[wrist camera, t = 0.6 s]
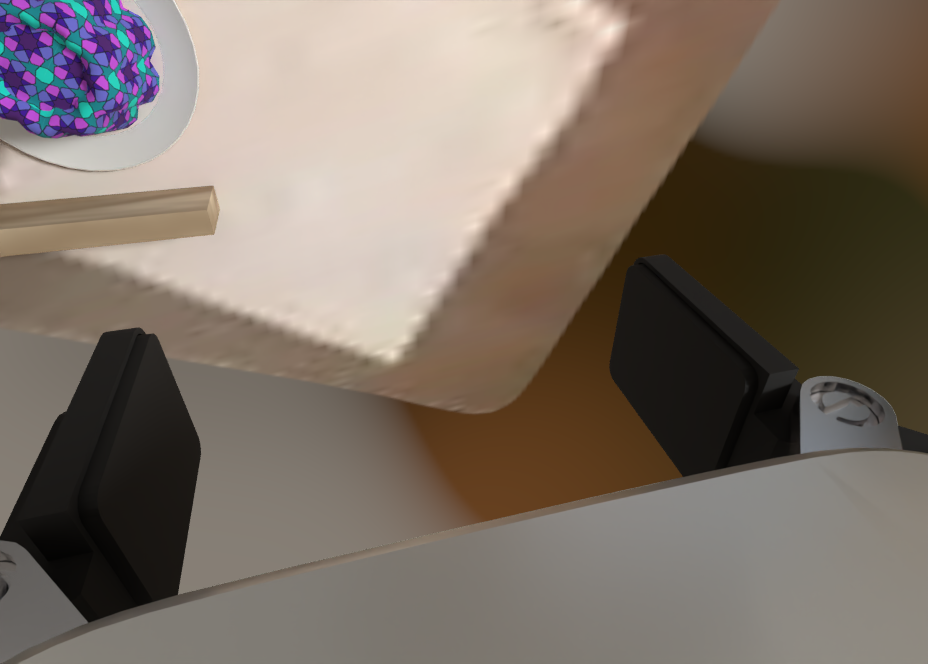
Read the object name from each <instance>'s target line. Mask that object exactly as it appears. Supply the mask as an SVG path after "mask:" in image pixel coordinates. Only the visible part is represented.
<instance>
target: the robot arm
mask: <svg viewBox="0 0 928 664" xmlns="http://www.w3.org/2000/svg"><path fill="white" fill-rule="evenodd" d="M798 370H799V368H798V367H796V366H795V365H794V364H793V363H792V362H791V361H789V360H788V359H787V358H786V357H785V356H784V355H783V354H781V353H780V352H779V351H778V350H777V349H776V348H774V347H773V346H772V345H771V344H770V343H768V342H767V341H766V340H765V339H764V338H763V337H762V336H760V335H759V334H758V333H757V332H755V330H753V329H752V328H751V327H750V326H748V324H746V323H745V322H744V321H743V320H742V319H741V318H739V317H738V316H737V315H736V314H735V313H734V312H732V311H731V310H730V309H729V308H728V307H727V306H725V305H724V304H723V303H722V302H721V301H720V300H719V299H717V298H716V297H715V296H714V295H713V294H711V293H710V292H709V291H708V290H707V289H706V288H705V287H703V286H702V285H701V284H700V283H699V282H697V281H696V280H695V279H694V278H693V277H692V276H690V275H689V274H688V273H687V272H686V271H685V270H684V269H682V268H681V267H680V266H679V265H678V264H677V263H675V262H674V261H673V260H672V259H671V258H670V257H668V256H667V255H656V256H649V257H641V258H638V259H637V260H636V261H635V262H634V265H633V266H630V267H629V268H628V270H627V273H626V278H625V283H624V289H623V294H622V300H621V305H620V310H619V316H618V321H617V326H616V332H615V337H614V343H613V348H612V354H611V359H610V373H611V376H612V378H613V380H614V382H615V383H616V384H617V386H618V387H619V389H620V390H621V391H622V393H623V394H624V395H625V397H626V398H627V400H628V401H629V402H630V404H631V405H632V407H633V408H634V409H635V411H636V412H637V413H638V415H639V416H640V418H641V419H642V420H643V422H644V423H645V425H646V426H647V427H648V429H649V430H650V431H651V433H652V434H653V436H655V438H656V440H657V441H658V442H659V444H660V445H661V447H662V448H663V449H664V451H665V452H666V454H667V455H668V456H669V458H670V459H671V460H672V462H673V463H674V465H675V466H676V467H677V469H678V470H679V472H680V473H681V474H682V476H683V477H682V478H677V479H673V480H668V481H664V482H660V483H655V484H650V485H646V486H641V487H637V488H632V489H628V490H623V491H619V492H614V493H610V494H606V495H601V496H596V497H592V498H587V499H583V500H579V501H575V502H570V503H566V504H562V505H557V506H553V507H548V508H544V509H540V510H535V511H530V512H526V513H521V514H517V515H513V516H508V517H504V518H500V519H495V520H491V521H486V522H483V523H478V524H473V525H469V526H465V527H461V528H456V529H452V530H447V531H443V532H438V533H434V534H430V535H425V536H421V537H417V538H413V539H408V540H404V541H400V542H395V543H391V544H387V545H383V546H379V547H374V548H370V549H365V550H361V551H357V552H353V553H349V554H344V555H340V556H336V557H332V558H327V559H323V560H318V561H314V562H310V563H305V564H301V565H297V566H293V567H288V568H284V569H280V570H276V571H272V572H268V573H264V574H260V575H256V576H252V577H248V578H244V579H240V580H236V581H232V582H228V583H224V584H220V585H216V586H212V587H208V588H204V589H200V590H196V591H192V592H188V593H184V594H180V595H178V589H179V584H180V578H181V572H182V566H183V560H184V554H185V548H186V542H187V535H188V530H189V523H190V517H191V511H192V505H193V499H194V493H195V487H196V481H197V475H198V468H199V463H200V457H201V456H200V455H201V448H200V441H199V437H198V435H197V432H196V430H195V427H194V425H193V423H192V420H191V418H190V416H189V413H188V410H187V408H186V405H185V403H184V401H183V398H182V396H181V394H180V391H179V388H178V386H177V384H176V381H175V379H174V376H173V374H172V371H171V369H170V367H169V364H168V362H167V359H166V357H165V354H164V352H163V350H162V347H161V345H160V342H159V340H158V338H157V336H156V335H155V334H145V332H144V331H143V330H142V329H141V328H131V329H124V330H117V331H110V332H105V333H103V334H102V336H101V337H100V339H99V342H98V344H97V346H96V348H95V350H94V352H93V355H92V357H91V359H90V361H89V363H88V366H87V368H86V370H85V372H84V374H83V376H82V379H81V381H80V383H79V385H78V387H77V390H76V392H75V394H74V396H73V398H72V400H71V403H70V405H69V407H68V409H67V411H66V412H64V413H63V414H61V415H59V416H58V418H57V419H56V421H55V422H54V424H53V426H52V428H51V430H50V433H49V435H48V437H47V439H46V441H45V443H44V445H43V447H42V450H41V452H40V454H39V456H38V458H37V460H36V462H35V464H34V467H33V468H32V471H31V473H30V475H29V477H28V479H27V481H26V483H25V485H24V488H23V490H22V492H21V494H20V496H19V498H18V500H17V503H16V504H15V506H14V509H13V511H12V513H11V515H10V517H9V519H8V521H7V523H6V526H5V528H4V530H3V532H2V534H1V536H0V664H928V435H927V434H924V433H920V432H917V431H914V430H910V429H907V428H904V427H900V426H898V424H897V419H896V415H895V413H894V411H893V408H892V407H891V406H890V404H888V402H887V401H886V400H885V399H884V398H883V397H882V396H880V395H879V394H877V393H876V392H874V391H873V390H872V389H869V388H867V387H865V386H863V385H861V384H859V383H857V382H854V381H850V380H847V379H844V378H838V377H832V376H818V377H815V378H811V379H808V380H807V381H806V382H805V383H803V384H802V385H801V384H800V383H799V382H798V381H797V380H796V379H795V376H796V374H797V372H798Z"/></svg>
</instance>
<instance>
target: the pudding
mask: <svg viewBox="0 0 928 664" xmlns="http://www.w3.org/2000/svg"><path fill="white" fill-rule="evenodd" d="M134 1H135V3H136V4H137V5H138V7H139V8H140V9H141V11H142V12H143V13H144V15H145V16H146V18H147V20H148V22H149V23H150V25H151V27H152V29H153V30H154V33H155V35H156V38H157V41H158V43H159V46H160V50H161V54H162V59H163V70H164V79H163V85H162V91H161V94H160V96H159V99H158V102H157V104H156V105H155V107H154V108H153V110H152V111H151V113H150V114H149V115H148V116H147V117H146V118H145V119H144V120H143V121H142V122H141V123H139V124H138V125H136V126H134V127H133V128H131V129H129V130H127V131H124V132H121V133H118V134H114V135H108V136H88V135H93V134H99V133H104V132H110V131H115V130H120V129H124V128H128V127H129V126H130V125H132V124H133V123H134V122H135V121H136V120H137V118H138V107H139V105H142V104H145V103H148V102H152V101H153V100H154V98H155V96H156V95H157V93H158V91H159V75H158V73H157V72H156V70H155V69H154V67H153V65H152V64H151V62H150V59H151V57H152V54H153V52H154V49H155V44H154V40H153V36H152V33H151V31H150V29H149V28H148V26H147V25H146V23H145V22H144V21H143V19H142V18H141V17H140V16H138V15H136V14H134V13H133V12H131V11H129V10H127V9H125V8H123V5H122V3H121V0H0V139H1V140H2V141H4V142H6V143H8V144H9V145H11V146H13V147H15V148H17V149H18V150H20V151H22V152H24V153H26V154H29V155H31V156H33V157H36V158H38V159H41V160H43V161H46V162H49V163H52V164H56V165H60V166H63V167H67V168H72V169H79V170H87V171H115V170H121V169H127V168H132V167H135V166H138V165H141V164H144V163H146V162H149V161H151V160H153V159H154V158H156V157H158V156H159V155H161V154H163V153H164V152H166V151H167V150H168V149H169V148H170V147H171V146H172V145H173V144H174V143H176V142H177V141H178V140H179V138H180V137H181V135H182V134H183V132H184V131H185V130H186V128H187V127H188V125H189V123H190V120H191V118H192V116H193V113H194V111H195V108H196V103H197V98H198V92H199V66H198V61H197V55H196V50H195V45H194V43H193V40H192V37H191V34H190V31H189V28H188V26H187V23H186V21H185V19H184V17H183V16H182V14H181V12H180V10H179V8H178V6H177V4H176V2H175V1H174V0H134Z"/></svg>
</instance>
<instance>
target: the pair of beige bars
mask: <svg viewBox="0 0 928 664" xmlns="http://www.w3.org/2000/svg"><path fill="white" fill-rule="evenodd" d="M219 211H220V208H219V204H218V201H217V197H216V193H215V190H214V186H205V187H194V188H182V189H171V190H160V191H148V192H137V193H125V194H114V195H103V196H91V197H80V198H68V199H57V200H46V201H34V202H23V203H11V204H0V257H3V256H13V255H22V254H32V253H41V252H51V251H61V250H70V249H80V248H89V247H99V246H109V245H118V244H128V243H137V242H147V241H157V240H166V239H176V238H185V237H195V236H205V235H214V233H215V229H216V224H217V220H218V215H219Z"/></svg>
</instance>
